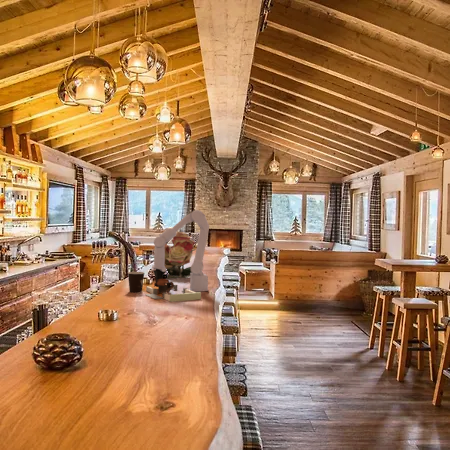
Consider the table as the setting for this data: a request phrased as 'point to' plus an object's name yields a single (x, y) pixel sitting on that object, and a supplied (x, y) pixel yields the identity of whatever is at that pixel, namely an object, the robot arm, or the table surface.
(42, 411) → the table surface
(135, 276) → the coffee mug
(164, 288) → the pottery mug
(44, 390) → the table surface
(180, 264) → the rose bouquet
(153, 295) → the lane
